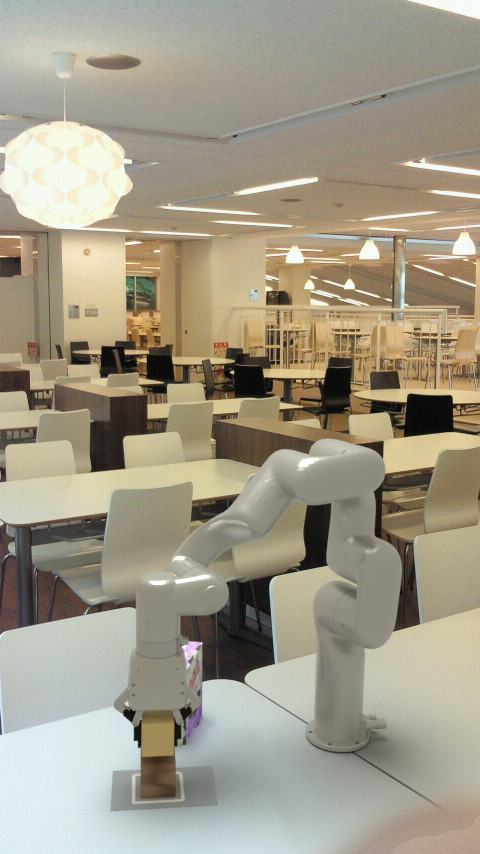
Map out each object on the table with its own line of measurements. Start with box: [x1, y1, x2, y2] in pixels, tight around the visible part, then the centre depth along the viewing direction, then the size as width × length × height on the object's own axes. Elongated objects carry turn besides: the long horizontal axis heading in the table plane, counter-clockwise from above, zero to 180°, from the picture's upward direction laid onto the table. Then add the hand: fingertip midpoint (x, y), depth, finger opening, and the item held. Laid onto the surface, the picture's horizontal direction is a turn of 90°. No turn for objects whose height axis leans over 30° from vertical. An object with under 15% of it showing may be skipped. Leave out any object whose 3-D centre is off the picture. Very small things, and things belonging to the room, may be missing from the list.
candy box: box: [173, 640, 203, 746], centre depth 168 cm, size 14×6×16 cm, turn 168°
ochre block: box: [140, 710, 174, 757], centre depth 146 cm, size 6×6×6 cm
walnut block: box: [140, 747, 177, 799], centre depth 147 cm, size 6×6×6 cm
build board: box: [110, 765, 219, 812], centre depth 148 cm, size 18×12×1 cm, turn 97°
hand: (157, 742), depth 146 cm, fingers closed on ochre block, 5 cm apart
